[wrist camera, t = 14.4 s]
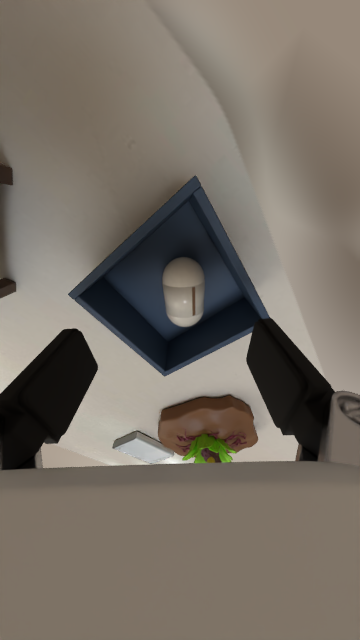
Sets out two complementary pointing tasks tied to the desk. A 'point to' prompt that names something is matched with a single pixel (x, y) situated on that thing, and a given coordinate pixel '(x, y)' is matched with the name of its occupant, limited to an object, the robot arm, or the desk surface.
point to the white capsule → (184, 291)
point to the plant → (208, 429)
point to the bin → (147, 289)
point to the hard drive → (143, 448)
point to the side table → (4, 286)
